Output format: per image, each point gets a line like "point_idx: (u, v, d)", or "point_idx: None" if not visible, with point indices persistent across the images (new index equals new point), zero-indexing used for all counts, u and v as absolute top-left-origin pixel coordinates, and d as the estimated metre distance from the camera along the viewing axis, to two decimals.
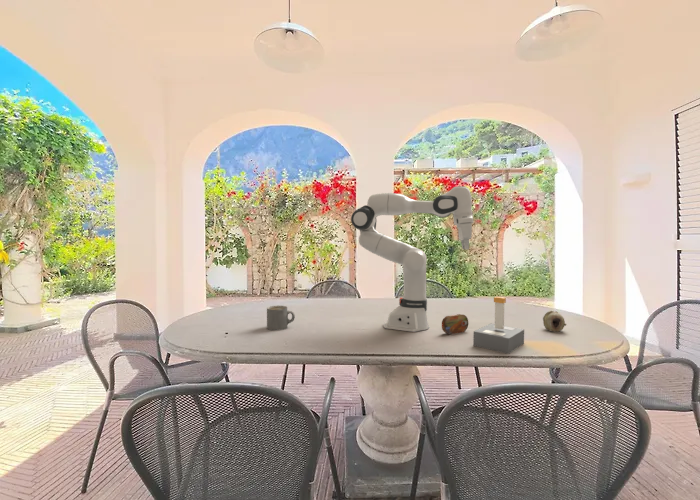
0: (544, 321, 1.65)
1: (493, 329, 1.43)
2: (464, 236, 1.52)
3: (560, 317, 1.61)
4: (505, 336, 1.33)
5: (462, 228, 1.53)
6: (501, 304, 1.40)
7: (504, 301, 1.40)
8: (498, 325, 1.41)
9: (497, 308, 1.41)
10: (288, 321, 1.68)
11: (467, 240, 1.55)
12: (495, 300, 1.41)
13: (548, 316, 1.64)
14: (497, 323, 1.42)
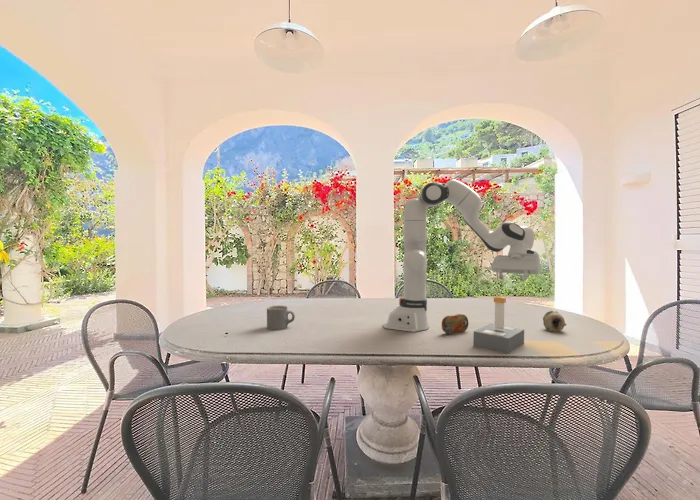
0: (544, 321, 1.65)
1: (493, 329, 1.43)
2: (538, 268, 1.45)
3: (560, 317, 1.61)
4: (505, 336, 1.33)
5: (538, 261, 1.47)
6: (501, 304, 1.40)
7: (504, 301, 1.40)
8: (498, 325, 1.41)
9: (497, 308, 1.41)
10: (288, 321, 1.68)
11: (528, 273, 1.48)
12: (495, 300, 1.41)
13: (548, 316, 1.64)
14: (497, 323, 1.42)
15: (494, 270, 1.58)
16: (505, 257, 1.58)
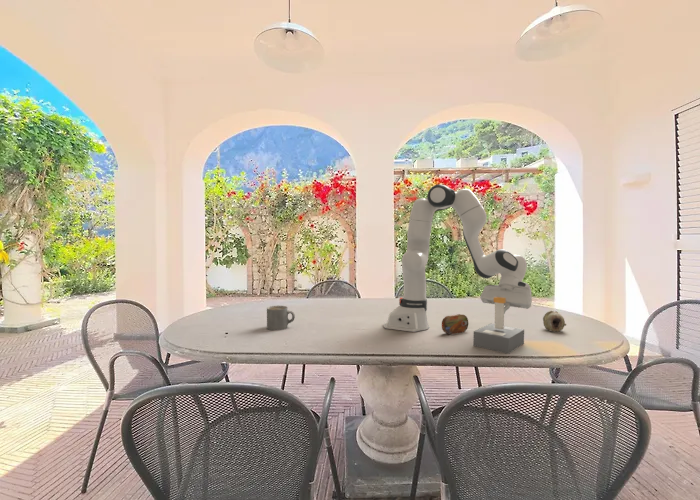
0: (544, 321, 1.65)
1: (493, 329, 1.43)
2: (529, 302, 1.38)
3: (560, 317, 1.61)
4: (505, 336, 1.33)
5: (529, 294, 1.40)
6: (501, 304, 1.40)
7: (504, 301, 1.40)
8: (498, 325, 1.41)
9: (497, 308, 1.41)
10: (288, 321, 1.68)
11: (509, 305, 1.43)
12: (495, 300, 1.41)
13: (548, 316, 1.64)
14: (497, 323, 1.42)
15: (484, 301, 1.51)
16: (495, 287, 1.50)
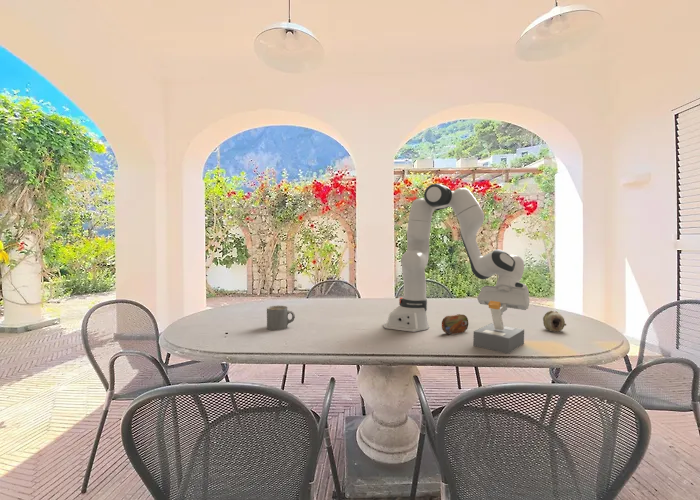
0: (544, 321, 1.65)
1: (493, 329, 1.43)
2: (526, 303, 1.35)
3: (560, 317, 1.61)
4: (505, 336, 1.33)
5: (527, 295, 1.37)
6: (497, 309, 1.37)
7: (499, 306, 1.36)
8: (497, 326, 1.41)
9: (493, 313, 1.39)
10: (288, 321, 1.68)
11: (507, 307, 1.40)
12: (490, 306, 1.38)
13: (548, 316, 1.64)
14: (496, 325, 1.41)
15: (481, 302, 1.48)
16: (492, 288, 1.48)
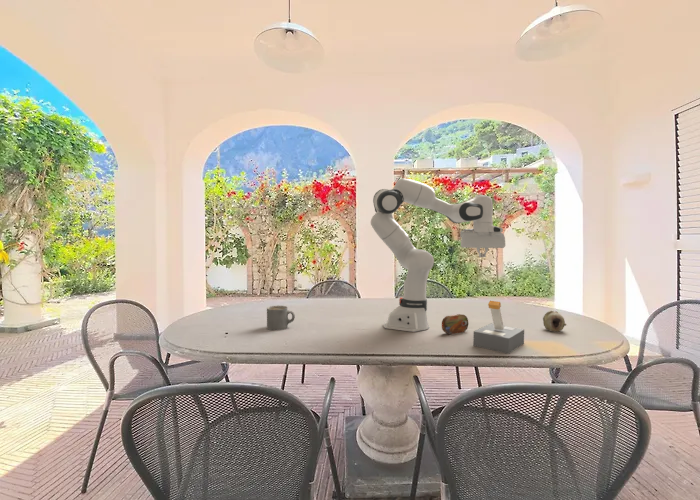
0: (544, 321, 1.65)
1: (493, 329, 1.43)
2: None
3: (560, 317, 1.61)
4: (505, 336, 1.33)
5: (504, 237, 1.61)
6: (497, 309, 1.37)
7: (499, 306, 1.36)
8: (497, 327, 1.41)
9: (493, 313, 1.39)
10: (288, 321, 1.68)
11: (487, 248, 1.65)
12: (490, 306, 1.38)
13: (548, 316, 1.64)
14: (496, 325, 1.41)
15: (464, 247, 1.68)
16: (473, 234, 1.65)
